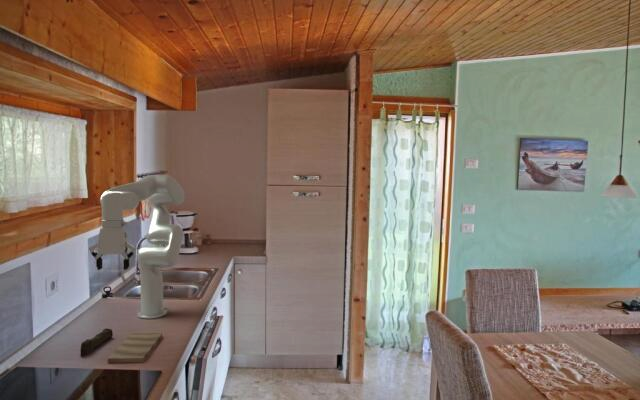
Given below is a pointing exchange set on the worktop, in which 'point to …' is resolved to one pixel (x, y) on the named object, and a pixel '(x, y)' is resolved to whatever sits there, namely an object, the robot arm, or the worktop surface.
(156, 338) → the board
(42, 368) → the worktop surface
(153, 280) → the robot arm
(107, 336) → the hand tool
